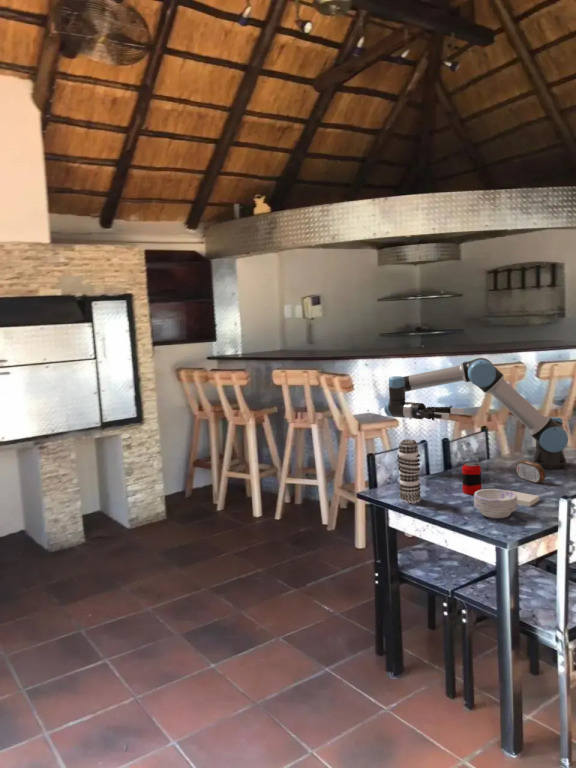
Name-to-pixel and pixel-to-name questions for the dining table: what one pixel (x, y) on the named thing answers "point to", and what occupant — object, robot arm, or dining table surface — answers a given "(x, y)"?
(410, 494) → the decorative candle
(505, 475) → the dining table surface
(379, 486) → the dining table surface
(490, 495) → the paper bowls
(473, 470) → the soda can
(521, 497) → the block
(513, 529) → the dining table surface
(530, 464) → the tin
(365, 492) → the dining table surface
